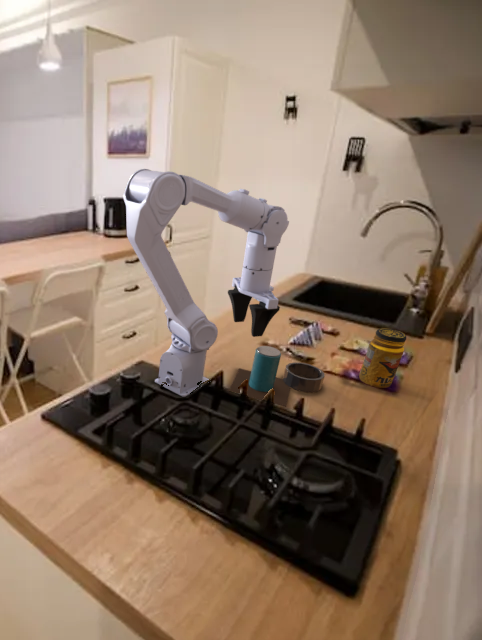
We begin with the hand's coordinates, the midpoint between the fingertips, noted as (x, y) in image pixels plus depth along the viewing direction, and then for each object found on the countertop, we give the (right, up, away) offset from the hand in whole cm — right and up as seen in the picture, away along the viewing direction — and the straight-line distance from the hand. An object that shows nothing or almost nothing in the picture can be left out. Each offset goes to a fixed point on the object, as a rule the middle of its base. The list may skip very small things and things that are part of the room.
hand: (247, 328), depth 88 cm
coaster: (+2, -13, -2) cm, 13 cm away
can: (+2, -12, -3) cm, 13 cm away
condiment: (+27, -12, +1) cm, 29 cm away
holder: (+11, -12, -1) cm, 17 cm away
